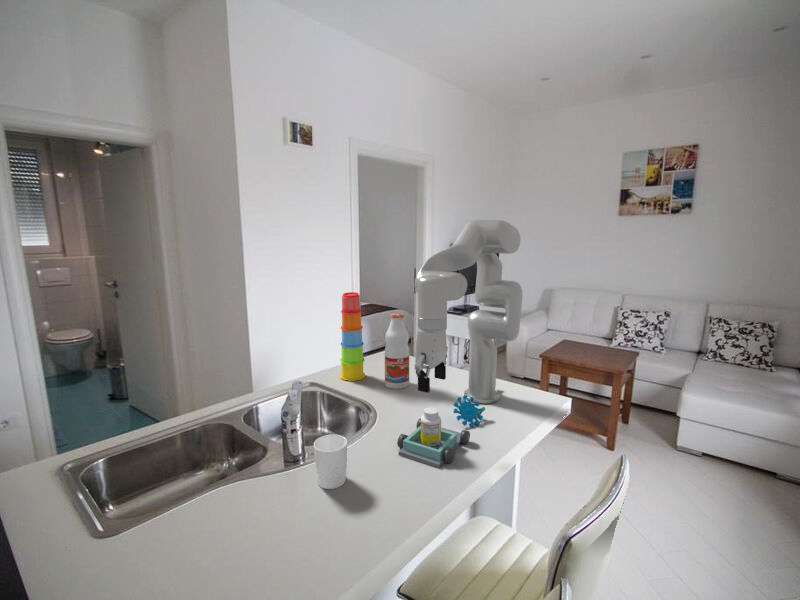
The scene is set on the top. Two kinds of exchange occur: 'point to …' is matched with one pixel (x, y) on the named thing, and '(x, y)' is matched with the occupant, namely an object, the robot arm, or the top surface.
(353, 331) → the stacking cups
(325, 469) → the white cup
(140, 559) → the top surface
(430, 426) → the supplement bottle
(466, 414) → the gear
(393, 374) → the fruit juice
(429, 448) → the chassis
